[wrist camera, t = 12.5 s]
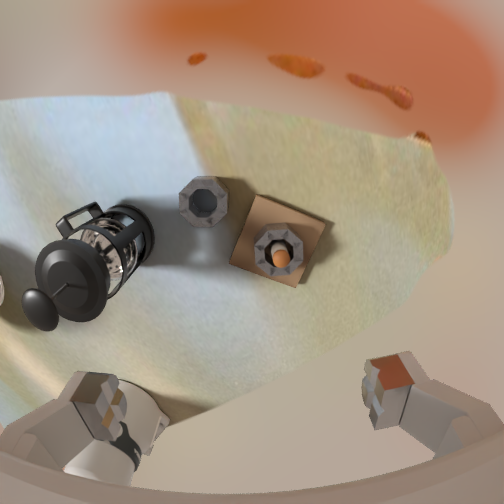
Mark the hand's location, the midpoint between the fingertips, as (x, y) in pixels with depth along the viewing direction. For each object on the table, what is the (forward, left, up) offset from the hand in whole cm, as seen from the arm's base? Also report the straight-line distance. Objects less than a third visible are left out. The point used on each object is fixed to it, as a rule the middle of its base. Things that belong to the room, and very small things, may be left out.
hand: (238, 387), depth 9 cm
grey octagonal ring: (-2, +5, -35) cm, 36 cm away
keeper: (-4, -6, -35) cm, 36 cm away
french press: (-11, +15, -35) cm, 40 cm away
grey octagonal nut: (-4, -6, -34) cm, 34 cm away
